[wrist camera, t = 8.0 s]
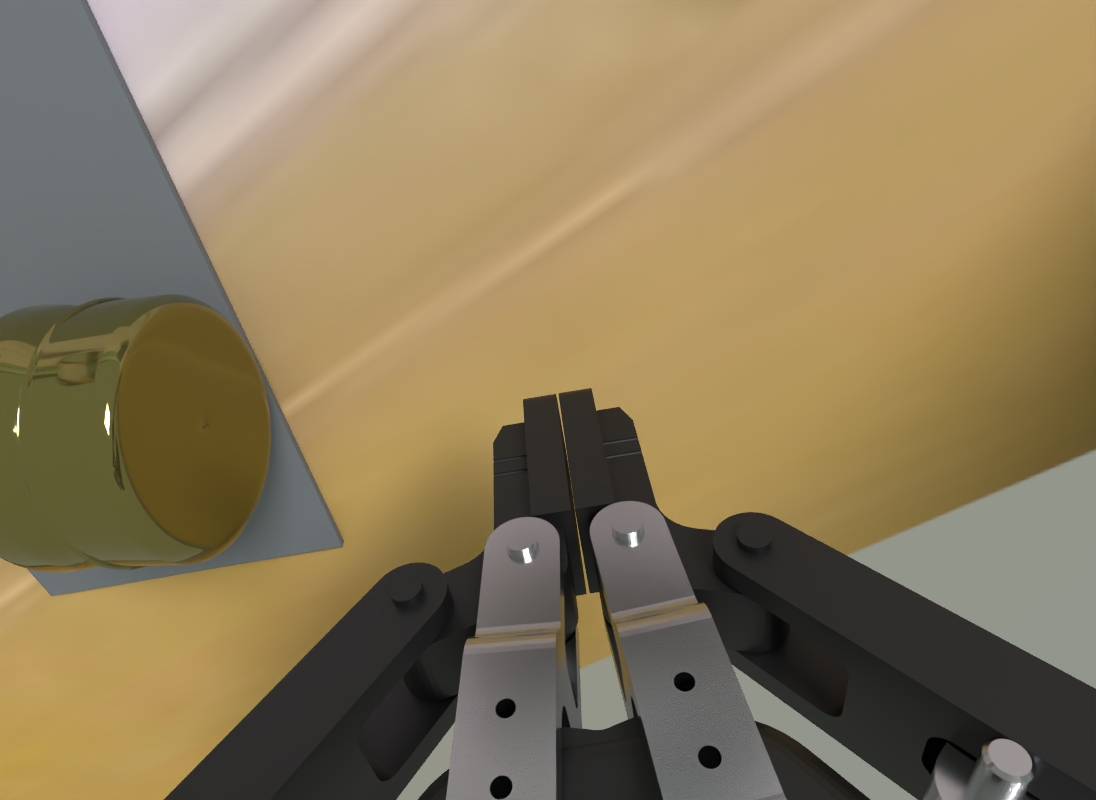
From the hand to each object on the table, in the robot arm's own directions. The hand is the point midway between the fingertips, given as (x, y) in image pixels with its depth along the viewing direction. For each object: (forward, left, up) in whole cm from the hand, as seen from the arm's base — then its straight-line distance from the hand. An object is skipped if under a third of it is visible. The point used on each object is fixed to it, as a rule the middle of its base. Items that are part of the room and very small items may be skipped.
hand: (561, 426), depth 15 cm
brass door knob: (+9, +1, -4) cm, 10 cm away
